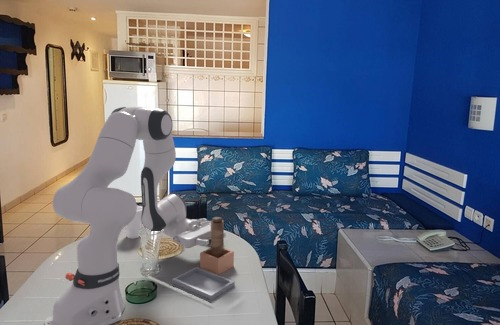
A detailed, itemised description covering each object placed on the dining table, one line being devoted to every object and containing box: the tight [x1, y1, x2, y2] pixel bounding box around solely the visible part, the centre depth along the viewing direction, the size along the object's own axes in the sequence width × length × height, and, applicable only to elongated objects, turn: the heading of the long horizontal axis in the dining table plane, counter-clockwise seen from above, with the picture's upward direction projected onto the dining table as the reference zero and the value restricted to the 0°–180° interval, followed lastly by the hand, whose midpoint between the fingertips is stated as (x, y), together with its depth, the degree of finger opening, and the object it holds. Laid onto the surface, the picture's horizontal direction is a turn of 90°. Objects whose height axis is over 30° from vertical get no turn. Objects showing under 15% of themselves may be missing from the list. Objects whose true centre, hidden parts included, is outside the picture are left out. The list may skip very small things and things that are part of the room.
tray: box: [171, 266, 236, 303], centre depth 135 cm, size 12×18×2 cm, turn 54°
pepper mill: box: [210, 216, 225, 258], centre depth 147 cm, size 5×5×19 cm
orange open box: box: [199, 247, 235, 276], centre depth 148 cm, size 9×9×7 cm
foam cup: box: [124, 205, 143, 239], centre depth 179 cm, size 10×9×13 cm
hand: (216, 239), depth 147 cm, fingers open, 8 cm apart
